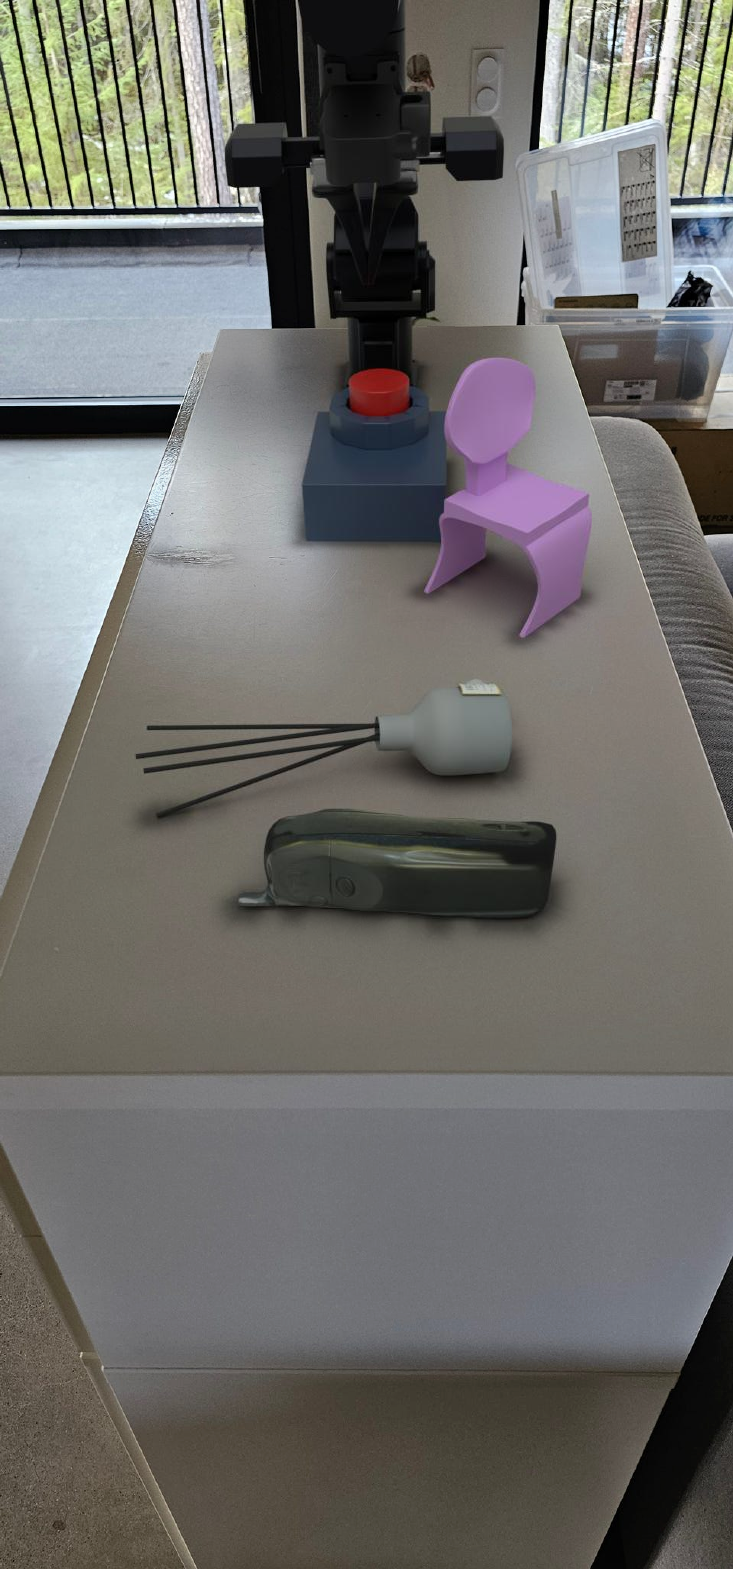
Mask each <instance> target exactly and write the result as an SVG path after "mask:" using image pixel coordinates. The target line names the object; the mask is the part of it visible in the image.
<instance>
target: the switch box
mask: <svg viewBox="0 0 733 1569" xmlns="http://www.w3.org/2000/svg"><path fill="white" fill-rule="evenodd" d="M328 409H329V410H328V411H317V413H316V418H315V423H314V428H313V430H312V431H313V432H312V437H311V441H310V446H309V450H308V451H309V452H308V455H307V460H306V464H305V469H304V473H303V478H302V481H301V482H302V483H301V491H302V492H301V493H302V504H303V519H304V520H303V521H304V532H305V542H342V543H343V542H344V543H345V542H350V543H351V542H353V543H355V542H358V543H359V542H360V543H361V542H365V543H366V542H368V543H369V542H370V543H371V542H372V543H376V542H378V543H379V542H382V543H383V542H384V543H385V542H386V543H388V542H389V543H393V542H395V543H397V542H398V543H399V542H400V543H410V542H411V543H413V542H414V543H441V532H440V526H439V518H440V516H441V514H443V513H444V500H445V499H447V448H448V446H447V445H448V444H447V441H446V439H445V433H444V424H445V417H446V412H447V410H430V396H429V395H428V394H426V393H425V392H423V391H422V390H421V389H419V388H418V387H417V386H416V387H412V386H409V409H408V410H406V411H405V412H403V413H399V414H395V415H391V416H387V417H368V416H364V415H360V414H356V413H353V412H352V411H351V409H350V396H349V387H348V388H345V389H344V390H343V389H342V390H340V391H339V392H337V393H335V394H334V395H333V396H331V398H330V403H329V408H328Z"/></svg>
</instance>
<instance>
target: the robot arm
mask: <svg viewBox="0 0 733 1569" xmlns="http://www.w3.org/2000/svg"><path fill="white" fill-rule="evenodd" d="M297 5H298V11H299V16H300V18H301V21H302V23H303V25H304V28H305V30H306V32H307V33H308V34H309V37H311V39H312V40H313V41H314V42H315V43H316V44H317V58H318V60H317V61H318V79H319V102H318V106H317V121H318V136H296V137H294V136H293V137H291V136H290V137H289V136H288V130H287V122H259V123H253V122H252V123H237V124H236V126H235V127H234V129H233V130H232V131H231V133H230V134H229V136H228V139H227V140H226V144H225V146H224V165H225V174H226V182H227V183H226V184H227V185H226V186H227V187H230V188H234V189H242V188H244V189H245V188H273V187H274V186H275V184H276V183H277V182H278V181H279V180H280V178H281V177H282V176H283V175H284V171H285V170H294V169H295V170H297V169H300V170H301V169H309V172H310V173H309V174H310V176H312V178H313V179H312V185H311V195H312V197H313V198H316V199H325V200H327V202H328V203H329V205H330V206H331V207H332V209H333V211H334V212H335V213H334V215H333V241H327V243H326V247H325V272H326V286H327V296H328V308H329V318H330V320H337V319H347V337H348V360H347V363H346V368H345V374H344V379H343V385H342V390H344V389H345V388H348V387H349V380H350V378H351V377H352V376H353V375H354V374H356V373H358V372H361V371H365V370H370V369H392V370H397V371H400V372H402V373H404V374H406V375H407V376H408V378H409V386H412V387H416V388H417V380H418V367H419V366H418V364H419V363H418V360H417V359H414V358H413V318H420V319H427V316H428V314H430V313H432V312H435V311H436V259H435V258H434V257H433V255H431V252H430V251H431V250H430V249H428V240H420V218H419V212H418V211H417V208H416V207H415V204H414V202H413V200H412V198H411V196H415V195H417V194H418V193H419V180H418V172H420V166H426V165H427V166H429V165H430V166H431V165H444V166H445V170H446V171H447V172H448V173H449V174H450V175H451V176H452V177H453V178H454V180H455V181H456V182H472V181H473V182H474V181H475V182H477V181H478V182H480V181H497V180H500V179H503V178H504V161H505V138H504V135H503V133H502V130H501V126H500V125H499V123H498V122H497V121H496V120H495V119H494V118H493V116H492V115H483V116H482V115H479V116H450V117H448V116H447V117H445V116H444V117H442V124H441V125H442V126H441V132H432V130H431V129H432V99H431V97H432V96H431V91H427V90H426V91H425V90H424V91H407V83H406V82H407V81H406V80H407V79H406V78H407V77H406V76H407V74H406V72H407V69H406V68H407V67H406V66H407V64H406V63H407V62H406V61H407V58H406V56H407V54H406V53H407V52H406V50H407V49H406V43H407V42H406V0H297ZM414 291H415V292H414ZM417 291H420V292H417Z"/></svg>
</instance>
